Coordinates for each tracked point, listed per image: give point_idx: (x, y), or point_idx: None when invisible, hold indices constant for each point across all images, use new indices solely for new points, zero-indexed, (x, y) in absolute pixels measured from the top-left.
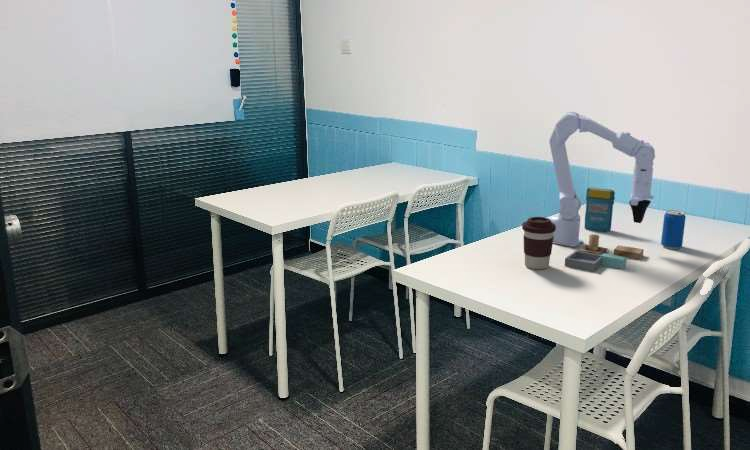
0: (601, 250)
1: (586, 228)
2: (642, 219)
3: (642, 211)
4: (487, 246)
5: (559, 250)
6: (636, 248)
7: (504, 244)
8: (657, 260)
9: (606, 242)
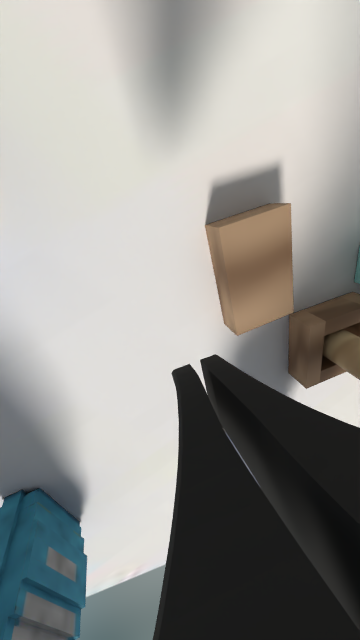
0: (343, 322)
1: (78, 524)
2: (196, 376)
3: (346, 427)
4: None
5: (312, 408)
6: (229, 259)
7: None
8: (228, 125)
9: (157, 407)
